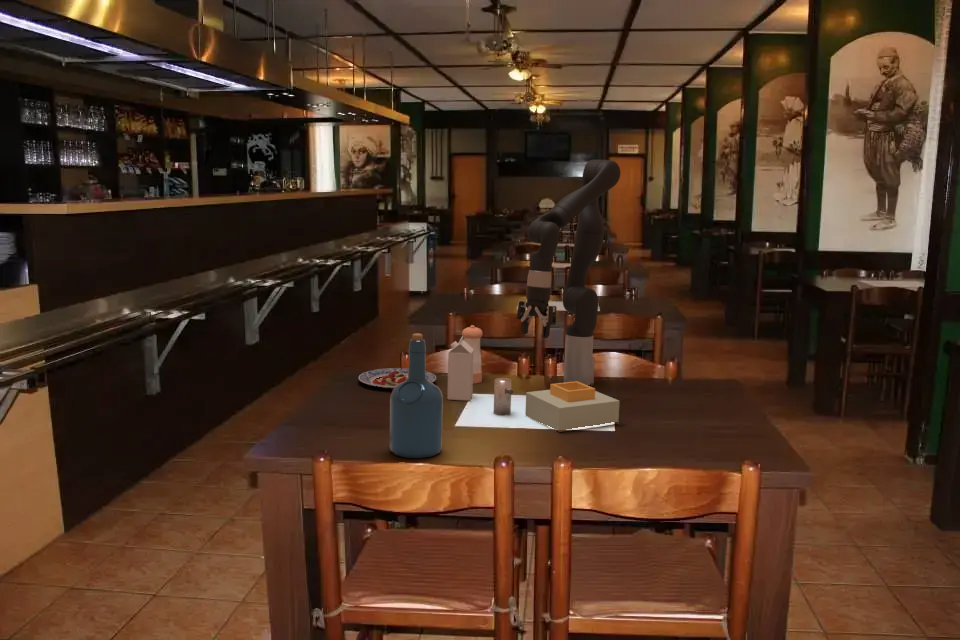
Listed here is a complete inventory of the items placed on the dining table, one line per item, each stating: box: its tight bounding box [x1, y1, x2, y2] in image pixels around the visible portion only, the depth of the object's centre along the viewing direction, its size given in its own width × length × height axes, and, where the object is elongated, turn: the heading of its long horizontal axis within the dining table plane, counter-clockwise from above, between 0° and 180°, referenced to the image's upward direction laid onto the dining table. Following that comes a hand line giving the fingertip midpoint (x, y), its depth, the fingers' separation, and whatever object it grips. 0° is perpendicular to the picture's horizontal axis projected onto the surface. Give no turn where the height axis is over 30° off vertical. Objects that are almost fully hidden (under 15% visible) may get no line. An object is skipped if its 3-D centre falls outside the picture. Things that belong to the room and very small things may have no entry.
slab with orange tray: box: [524, 381, 620, 430], centre depth 239 cm, size 20×19×10 cm
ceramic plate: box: [358, 367, 437, 390], centre depth 277 cm, size 26×26×3 cm
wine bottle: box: [389, 332, 444, 459], centre depth 206 cm, size 14×13×30 cm
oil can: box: [493, 377, 514, 416], centre depth 243 cm, size 7×5×10 cm
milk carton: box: [447, 335, 474, 401], centre depth 259 cm, size 7×7×19 cm
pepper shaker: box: [461, 324, 484, 384], centre depth 281 cm, size 7×7×19 cm
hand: (534, 335), depth 264 cm, fingers open, 8 cm apart
